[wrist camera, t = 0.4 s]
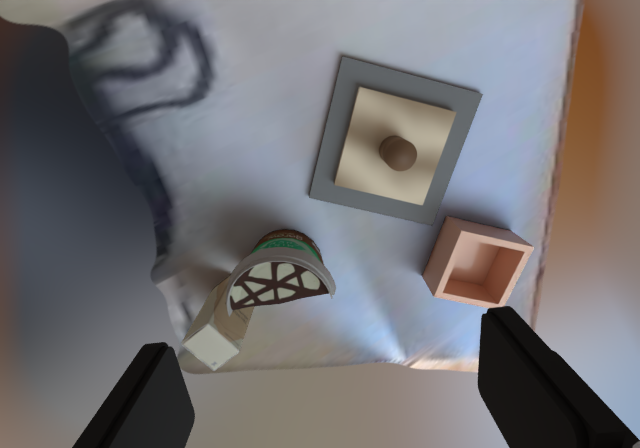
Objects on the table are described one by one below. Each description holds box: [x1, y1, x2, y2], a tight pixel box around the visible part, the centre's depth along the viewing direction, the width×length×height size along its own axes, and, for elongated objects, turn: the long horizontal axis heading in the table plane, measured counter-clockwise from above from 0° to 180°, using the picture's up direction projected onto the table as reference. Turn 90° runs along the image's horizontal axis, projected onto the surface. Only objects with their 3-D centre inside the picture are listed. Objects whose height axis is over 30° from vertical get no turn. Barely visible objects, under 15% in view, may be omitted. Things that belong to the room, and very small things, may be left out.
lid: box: [334, 87, 457, 205], centre depth 37 cm, size 11×11×5 cm
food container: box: [226, 229, 336, 316], centre depth 40 cm, size 12×6×10 cm, turn 101°
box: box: [181, 275, 254, 371], centre depth 42 cm, size 5×4×11 cm
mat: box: [309, 56, 483, 226], centre depth 40 cm, size 16×16×1 cm
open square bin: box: [422, 216, 534, 308], centre depth 43 cm, size 9×9×5 cm
